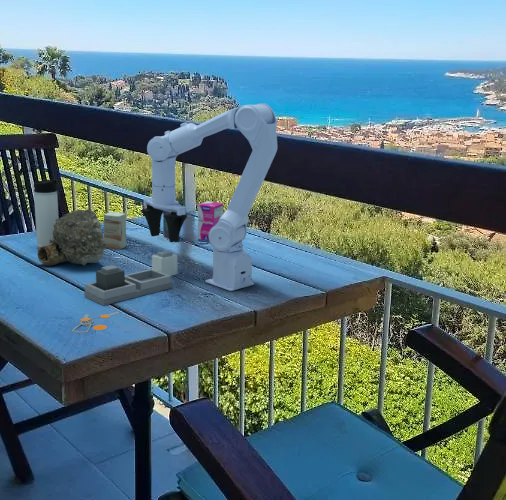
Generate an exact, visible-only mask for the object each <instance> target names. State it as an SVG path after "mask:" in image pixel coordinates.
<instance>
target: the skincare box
mask: <svg viewBox="0 0 506 500" xmlns="http://www.w3.org/2000/svg"><path fill="white" fill-rule="evenodd" d="M103 237H104V240H105V241H106V245H107V246H106V248H105V249H109V250H118V251H119V250H122V249H123V248H126V247H127V214H126V213H125V212H116V211H110V212H106V213H105V214H104V213H103Z"/></svg>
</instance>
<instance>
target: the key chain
mask: <svg viewBox="0 0 506 500" xmlns="http://www.w3.org/2000/svg"><path fill="white" fill-rule="evenodd" d="M118 313H119V314H120V311H116V312H112V313H108V314H101V315H100V316H96V317H92V318H89V314H85V315H84V316H83V318H80V323H79V324H78V325H77V326H75V327H74V328H73V329H72V330H71V332H72V333H77V334H78V333H79V334H86V333H88V332H89V330H90V329H91V327H92V329H93V330H96V331H102V330H105V329H107V327H108V326H106V325H103V324H97V325H95V324H93V323H94V322H95V321H94V319H101V318H102V319H108V318H111V317H112V316H116V315H117V314H118ZM81 326H83V327H88V329H87V330H86V331H77V329H78V328H79V327H81Z"/></svg>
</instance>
